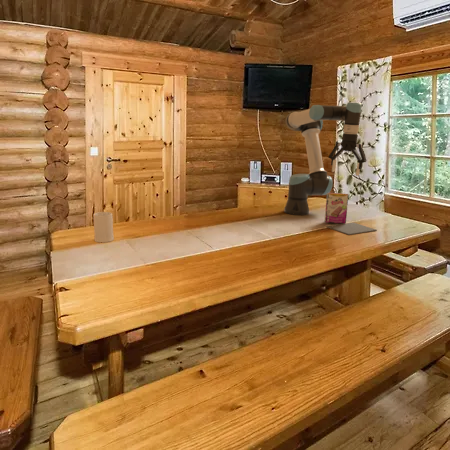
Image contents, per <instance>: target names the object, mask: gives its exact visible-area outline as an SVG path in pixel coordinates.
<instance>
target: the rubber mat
mask: <svg viewBox="0 0 450 450" xmlns="http://www.w3.org/2000/svg"><path fill="white" fill-rule="evenodd" d="M326 228H328V229H330V230H333V231H335V232H338V233H342V234H345V235H347V236H352V235H358V234H365V233H372V232H377V231H378V230H377V229H375V228H373V227H369V226H366V225H363V224H360V223H356V222H348V223H347V222H346V224H344V223H338V224H334V225H333V224H332V225H327V226H326Z"/></svg>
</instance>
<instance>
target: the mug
mask: <svg viewBox="0 0 450 450" xmlns="http://www.w3.org/2000/svg"><path fill="white" fill-rule="evenodd" d="M113 218H114V217H113V213H112V212H109V211H98V212H94V213H93V228H94V229H93V232H94V240H93V241H95V242H96V243H101V242H102V243H103V244H104V243H111V242H113V241H114V240H115V237H114V220H113Z"/></svg>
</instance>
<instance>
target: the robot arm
mask: <svg viewBox="0 0 450 450" xmlns="http://www.w3.org/2000/svg"><path fill="white" fill-rule="evenodd" d="M361 114H362V103H361V102H351V101H350V102H347V103H346V104H345V105H322V104H321V105H320V104H313V105H311V106H310V108H309V109H305V110H302V111H293V112H290V113H288V114H287V116H286V118H285V125H286V127H287V128H288V129H289V130H291V131H294V132H301V136H302V137H303V138H304V141H305V149H306V155H307V156H306V157H307V163H308V169H309V172H308V173H295V174H292V175H290V176H289V178H288V179H289V180H288V190H287V191H288V192H287V193H288V194H287V201H286V203H285V205H284V209H283V212H284V214H289V215H295V216H305V215H309V214H310V208H309V203H308V196H327V193H331V191H332V188H333V184H334V183H333V182H334V181H333V178H332V176H330V175H328V171H327V170H325V169H324V162H323V155H322V150H321V144H320V143H321V142H320V135H319V134H320V133H321V131H322V129H323V125H324V122H323V121H339V122H343V130H342V132H343V133H342V138H341V139H342V140H341V141H335V145H334V147H333V148H332V150H331V152H330V154H329V155H328V158H329V159H331V161H330V163H331V164H330V166H332V167H331V172H332V173H334V172H336V165H337V158H338V157H339V156H340V154H341V153H343V152H348V153H349V152H352V153H353V155H354V156H355V158H356V160H357V162H358V163H357V165H356V170H355V176H360V170H362V168H363V163H367V157H366V155H365V152H364V149H363V143H358V133H359V130H360V129H359V128H360V122H361V121H360V120H361ZM340 146H341V148H340V149H339V147H340ZM356 148H358V151H359V153H358V151H357V149H356ZM337 150H338V151H337Z"/></svg>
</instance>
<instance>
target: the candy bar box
mask: <svg viewBox="0 0 450 450" xmlns="http://www.w3.org/2000/svg"><path fill="white" fill-rule="evenodd" d="M325 200H326V201H325V212H324V223H330V224H346V223H347V216H348V215H347V213H348V206H349V205H348V202H349V193H339V192H329V193H327V195H326V199H325Z"/></svg>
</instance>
